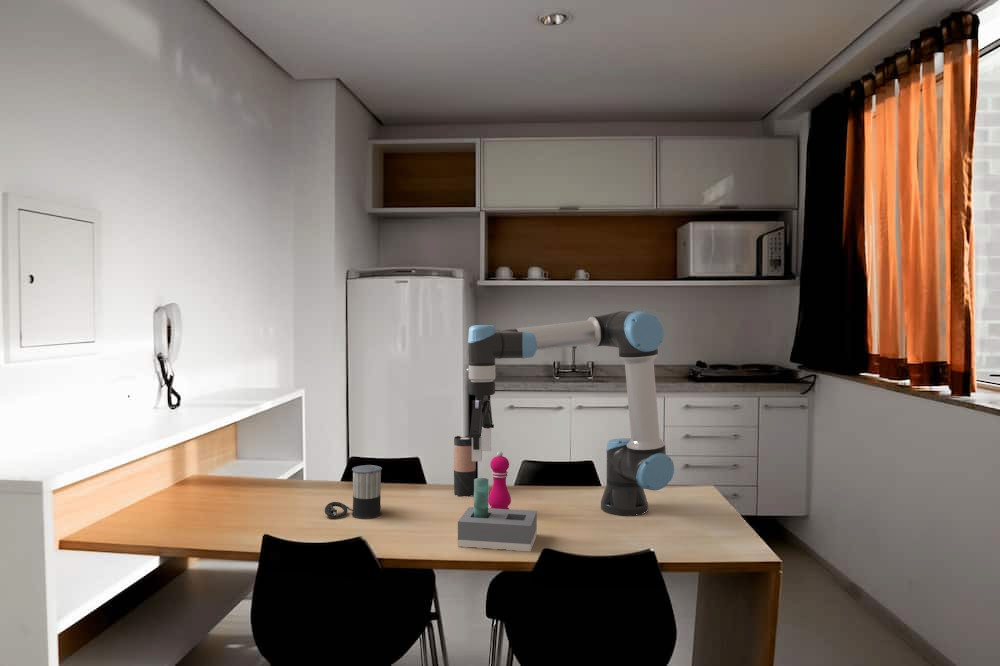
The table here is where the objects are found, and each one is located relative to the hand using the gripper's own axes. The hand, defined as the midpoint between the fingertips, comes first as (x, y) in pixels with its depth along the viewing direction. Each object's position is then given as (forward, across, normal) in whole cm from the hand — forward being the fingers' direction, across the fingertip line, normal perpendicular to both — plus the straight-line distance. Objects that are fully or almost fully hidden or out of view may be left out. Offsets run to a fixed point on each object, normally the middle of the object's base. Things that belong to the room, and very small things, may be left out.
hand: (481, 455), depth 196 cm
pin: (+22, 0, 0) cm, 22 cm away
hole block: (+24, 0, +5) cm, 24 cm away
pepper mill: (+24, -25, +1) cm, 35 cm away
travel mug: (+24, -46, -15) cm, 54 cm away
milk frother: (+24, -15, -44) cm, 52 cm away
